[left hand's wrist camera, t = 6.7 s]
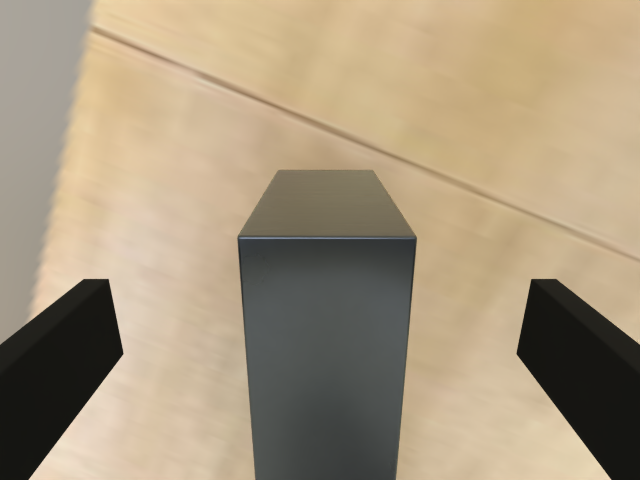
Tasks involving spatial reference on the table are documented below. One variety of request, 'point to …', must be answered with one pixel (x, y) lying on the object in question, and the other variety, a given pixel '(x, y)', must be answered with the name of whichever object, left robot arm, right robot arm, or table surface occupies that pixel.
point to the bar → (326, 325)
